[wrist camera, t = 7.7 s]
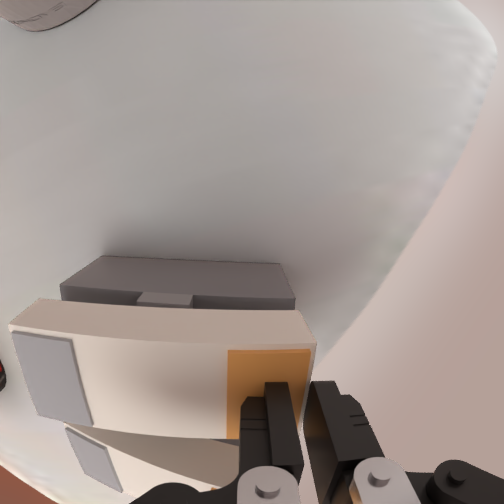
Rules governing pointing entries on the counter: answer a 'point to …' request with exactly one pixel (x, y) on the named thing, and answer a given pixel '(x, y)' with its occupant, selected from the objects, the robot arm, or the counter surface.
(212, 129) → the counter surface
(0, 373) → the deodorant
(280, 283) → the grey box
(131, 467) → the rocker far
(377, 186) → the counter surface
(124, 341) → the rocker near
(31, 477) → the counter surface
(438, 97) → the counter surface
